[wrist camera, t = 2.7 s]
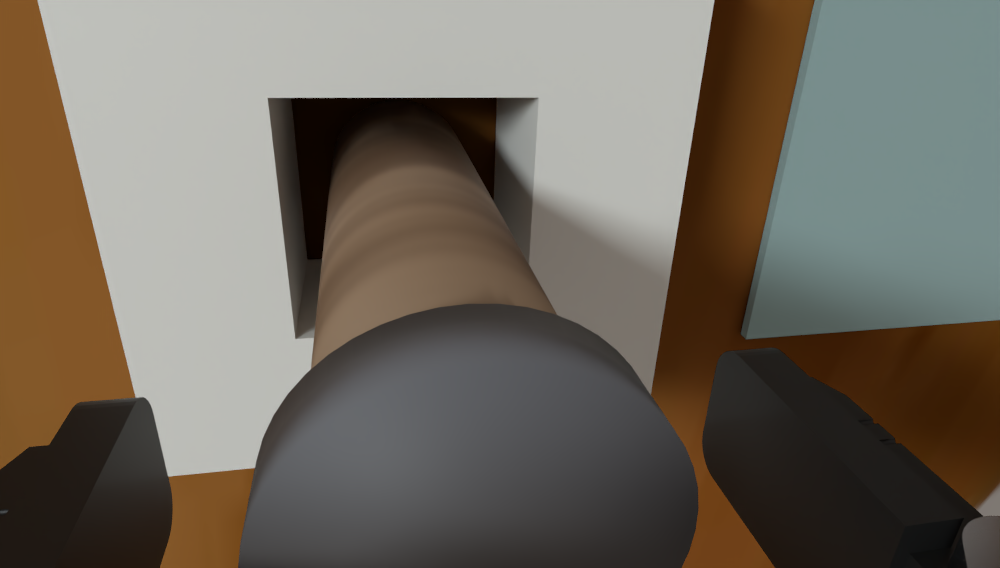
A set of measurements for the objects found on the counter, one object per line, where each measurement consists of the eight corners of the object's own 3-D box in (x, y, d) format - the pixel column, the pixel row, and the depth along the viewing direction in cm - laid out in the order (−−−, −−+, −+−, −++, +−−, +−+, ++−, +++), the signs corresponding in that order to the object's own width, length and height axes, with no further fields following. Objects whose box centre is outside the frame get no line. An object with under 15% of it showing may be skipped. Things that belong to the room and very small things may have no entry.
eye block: (99, -110, 16) (4, -133, 12) (641, -82, 19) (729, -92, 14) (194, 374, 22) (155, 477, 18) (594, 344, 25) (645, 428, 21)
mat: (830, -72, 20) (839, -72, 20) (1198, -53, 23) (1211, -53, 22) (740, 333, 26) (746, 339, 26) (1038, 311, 29) (1046, 316, 28)
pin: (307, 81, 19) (201, 385, 6) (480, 82, 20) (736, 344, 7) (322, 244, 21) (268, 737, 8) (477, 237, 22) (664, 669, 9)
